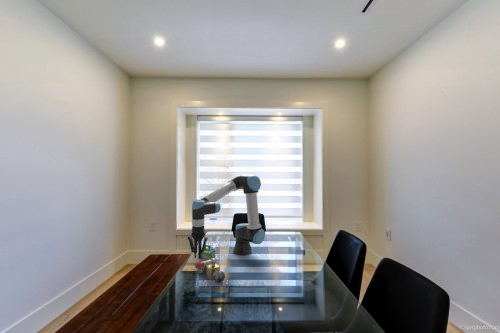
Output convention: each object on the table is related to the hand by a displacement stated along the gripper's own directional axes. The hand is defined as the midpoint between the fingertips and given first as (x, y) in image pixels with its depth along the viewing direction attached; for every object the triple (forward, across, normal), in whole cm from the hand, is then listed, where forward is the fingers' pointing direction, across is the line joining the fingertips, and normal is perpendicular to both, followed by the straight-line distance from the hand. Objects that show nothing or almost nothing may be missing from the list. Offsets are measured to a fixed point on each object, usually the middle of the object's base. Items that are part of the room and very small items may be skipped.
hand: (197, 263), depth 138 cm
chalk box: (+10, 0, +18) cm, 21 cm away
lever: (+1, +5, 0) cm, 5 cm away
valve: (+10, +9, +4) cm, 14 cm away
